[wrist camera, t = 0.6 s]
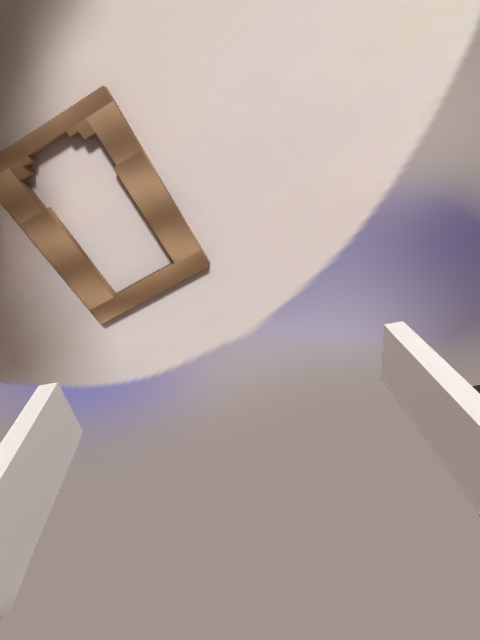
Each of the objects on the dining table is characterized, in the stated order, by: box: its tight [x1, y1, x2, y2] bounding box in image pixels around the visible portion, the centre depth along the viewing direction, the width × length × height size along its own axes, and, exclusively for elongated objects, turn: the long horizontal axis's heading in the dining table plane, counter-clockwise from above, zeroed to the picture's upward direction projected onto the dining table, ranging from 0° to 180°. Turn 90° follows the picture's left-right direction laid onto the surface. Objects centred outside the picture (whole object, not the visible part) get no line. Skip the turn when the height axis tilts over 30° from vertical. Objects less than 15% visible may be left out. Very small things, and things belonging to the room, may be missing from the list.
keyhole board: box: [0, 86, 210, 324], centre depth 35 cm, size 18×14×1 cm
